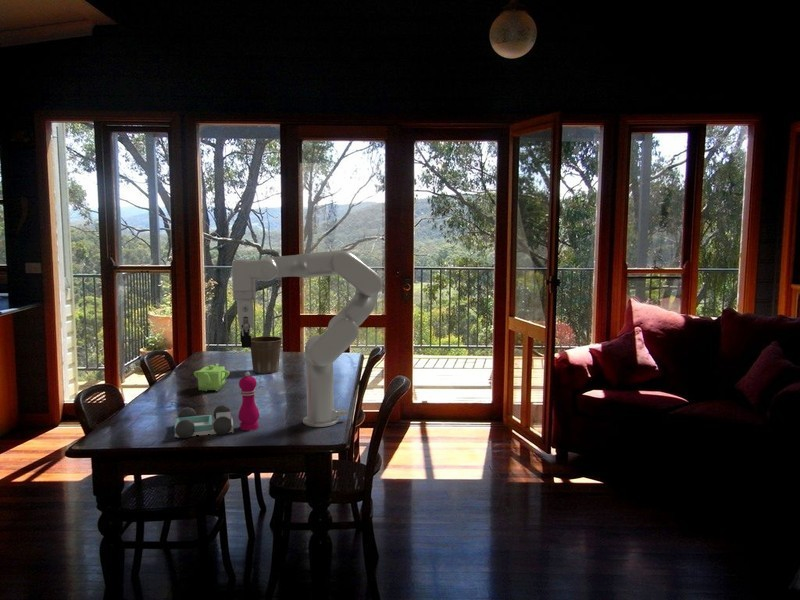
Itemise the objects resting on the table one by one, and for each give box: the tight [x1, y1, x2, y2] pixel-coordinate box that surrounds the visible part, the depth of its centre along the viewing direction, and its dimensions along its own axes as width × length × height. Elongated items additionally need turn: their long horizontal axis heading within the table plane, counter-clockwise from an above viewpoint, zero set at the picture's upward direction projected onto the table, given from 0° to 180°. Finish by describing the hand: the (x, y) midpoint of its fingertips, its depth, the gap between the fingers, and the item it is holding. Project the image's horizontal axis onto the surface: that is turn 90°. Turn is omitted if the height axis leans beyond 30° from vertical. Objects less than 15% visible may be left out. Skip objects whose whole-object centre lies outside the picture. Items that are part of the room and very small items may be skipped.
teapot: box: [193, 363, 231, 392], centre depth 273 cm, size 15×13×11 cm
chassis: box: [174, 404, 234, 439], centre depth 219 cm, size 19×16×6 cm
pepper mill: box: [237, 371, 261, 431], centre depth 220 cm, size 7×7×20 cm
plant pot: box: [249, 335, 283, 375], centre depth 306 cm, size 16×16×16 cm
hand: (245, 344), depth 217 cm, fingers open, 9 cm apart
